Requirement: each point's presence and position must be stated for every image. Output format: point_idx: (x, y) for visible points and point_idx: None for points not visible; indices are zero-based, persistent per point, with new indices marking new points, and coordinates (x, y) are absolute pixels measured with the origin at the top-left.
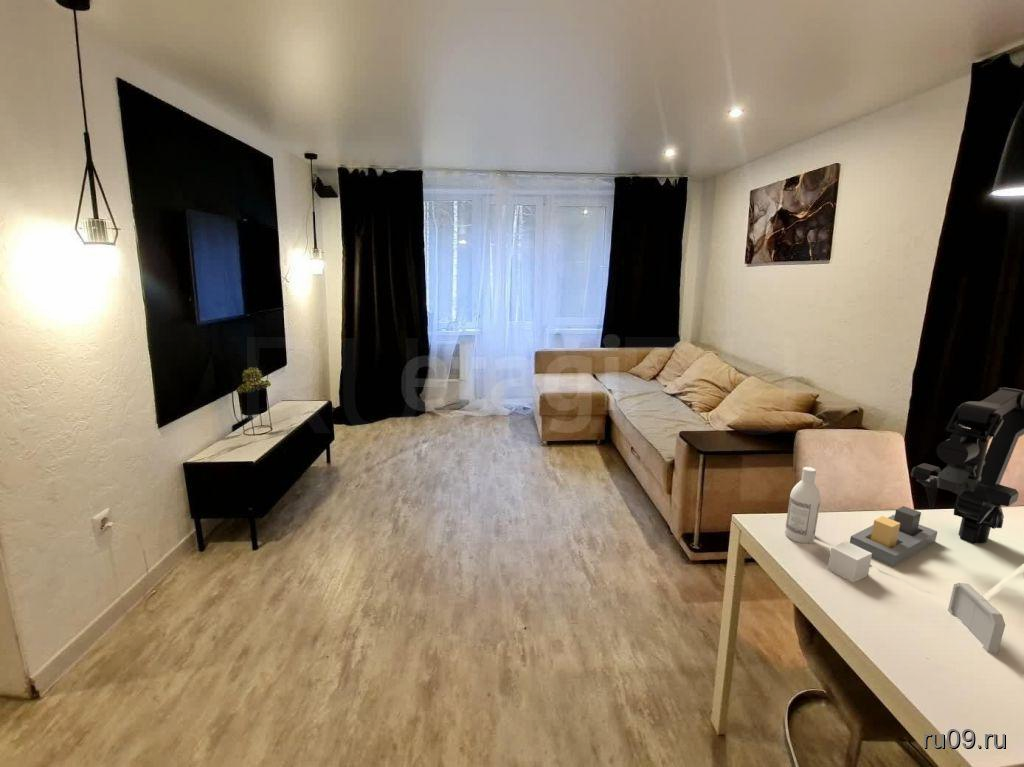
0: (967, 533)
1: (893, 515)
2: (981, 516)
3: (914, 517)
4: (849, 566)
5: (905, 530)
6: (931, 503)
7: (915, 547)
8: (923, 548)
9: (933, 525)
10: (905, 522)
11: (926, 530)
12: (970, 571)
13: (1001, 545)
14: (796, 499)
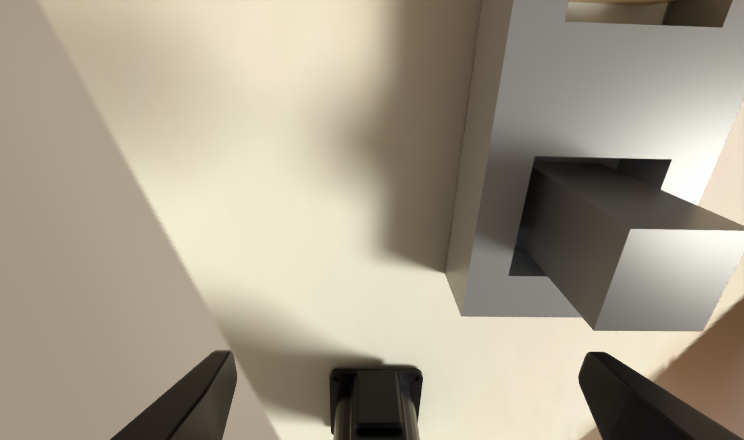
0: (381, 401)
1: None
2: (154, 423)
3: (614, 237)
4: None
5: (581, 181)
6: (630, 383)
7: (491, 75)
8: (463, 177)
9: (488, 405)
10: (622, 200)
11: (499, 284)
12: (283, 173)
13: (312, 433)
14: None
